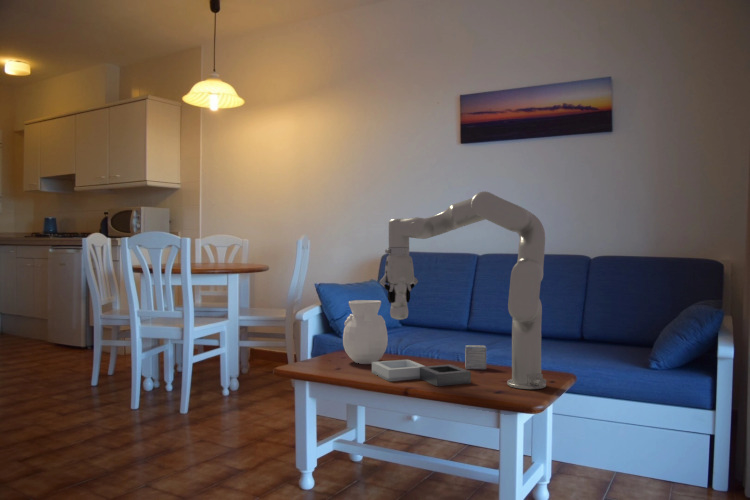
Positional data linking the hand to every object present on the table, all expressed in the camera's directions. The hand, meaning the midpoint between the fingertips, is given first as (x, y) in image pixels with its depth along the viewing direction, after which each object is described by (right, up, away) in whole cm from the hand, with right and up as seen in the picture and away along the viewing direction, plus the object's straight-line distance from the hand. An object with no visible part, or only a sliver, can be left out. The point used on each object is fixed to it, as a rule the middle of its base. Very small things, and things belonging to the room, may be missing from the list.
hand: (399, 301), depth 211 cm
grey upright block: (+30, -27, +13) cm, 43 cm away
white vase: (-13, -27, +26) cm, 40 cm away
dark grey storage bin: (+15, -27, -9) cm, 32 cm away
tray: (0, -27, 0) cm, 27 cm away
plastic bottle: (0, -7, 0) cm, 7 cm away
